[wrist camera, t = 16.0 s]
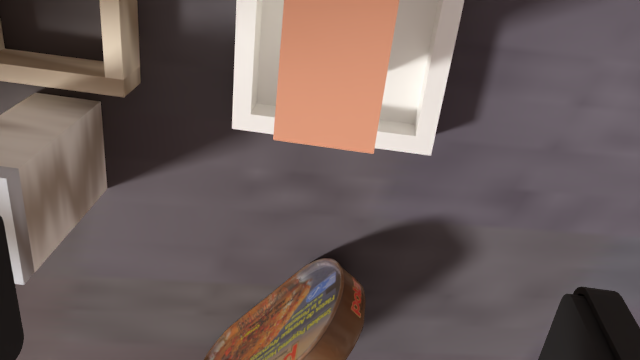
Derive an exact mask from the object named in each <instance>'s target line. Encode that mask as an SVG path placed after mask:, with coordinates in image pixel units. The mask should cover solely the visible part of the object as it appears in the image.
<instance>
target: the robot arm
mask: <svg viewBox="0 0 640 360" xmlns="http://www.w3.org/2000/svg"><path fill="white" fill-rule="evenodd" d="M23 340H24V333H23V328H22V322H21V317H20V311H19V305H18V300H17V294H16V288H15V283H14V277H13V271H12V266H11V260H10V254H9V249H8V243H7V238H6V232H5V226H4V222H3V219H2V217H1V216H0V360H16V358H17V357H18V355H19V353H20V351H21V349H22V345H23ZM538 360H640V328H639V326H638V324H637V323H636V321H635V319H634V317H633V316H632V314H631V312H630V311H629V309H628V307H627V305H626V304H625V302H624V300H623V298H622V297H621V296H620V294H619V293H617V292H615V291H609V290H602V289H595V288H587V287H578V288H577V289H576V290H575V291H574V293H573V294H565V295H564V296H563V297H562V299H561V302H560V304H559V307H558V309H557V312H556V315H555V317H554V320H553V322H552V325H551V328H550V330H549V333H548V335H547V338H546V341H545V343H544V346H543V348H542V351H541V354H540V356H539V359H538Z"/></svg>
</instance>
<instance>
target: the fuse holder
mask: <svg viewBox="0 0 640 360" xmlns="http://www.w3.org/2000/svg"><path fill="white" fill-rule="evenodd" d="M100 14H101V28H102V42H103V56H104V61H96V60H88V59H81V58H73V57H66V56H58V55H50V54H43V53H35V52H28V51H20V50H13V49H5V46H4V40H3V33H2V26H1V20H0V81H5V82H13V83H20V84H28V85H35V86H43V87H50V88H58V89H65V90H73V91H80V92H88V93H95V94H103V95H110V96H118V97H125V96H126V95H128V94H129V93H130V92H131V91H132V90H133V89H134V88H136V87H137V86H138V85H139V84H140V83H141V76H140V52H139V28H138V4H137V0H100ZM106 190H107V177H106V164H105V151H104V138H103V125H102V112H101V101H94V100H87V99H79V98H72V97H64V96H57V95H49V94H42V93H34V94H33V95H31V96H29V97H28V98H26V99H25V100H23V101H22V102H20V103H18V104H17V105H15V106H14V107H12V108H11V109H9V110H7V111H6V112H4V113H3V114H1V115H0V216H1V217H2V219H3V222H4V226H5V232H6V238H7V243H8V249H9V254H10V260H11V266H12V271H13V277H14V283H15V284H21V285H24V284H25V283H26V282H27V281H28V280H29V279H30V278H31V276H32V275H33V274H34V273H35V272H36V271H37V269H38V268H39V267H40V266H41V265H42V264H43V263H44V261H45V260H46V259H47V258H48V257H49V256H50V254H51V253H52V252H53V251H54V250H55V249H56V248H57V246H58V245H59V244H60V243H61V242H62V241H63V239H64V238H65V237H66V236H67V235H68V234H69V232H70V231H71V230H72V229H73V228H74V227H75V226H76V224H77V223H78V222H79V221H80V220H81V219H82V217H83V216H84V215H85V214H86V213H87V212H88V211H89V209H90V208H91V207H92V206H93V205H94V204H95V202H96V201H97V200H98V199H99V198H100V197H101V196H102V194H103V193H104V192H105V191H106Z"/></svg>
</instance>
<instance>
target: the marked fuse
mask: <svg viewBox="0 0 640 360" xmlns="http://www.w3.org/2000/svg"><path fill="white" fill-rule="evenodd" d="M398 6H399V0H284V7H283V20H282V32H281V45H280V58H279V71H278V84H277V97H276V109H275V122H274V135H273V140H278V141H285V142H292V143H299V144H306V145H314V146H321V147H328V148H335V149H343V150H350V151H357V152H364V153H372V154H374V148H375V142H376V136H377V130H378V124H379V118H380V112H381V106H382V100H383V95H384V89H385V83H386V77H387V71H388V65H389V59H390V53H391V47H392V41H393V35H394V29H395V24H396V18H397V12H398Z"/></svg>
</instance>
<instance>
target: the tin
mask: <svg viewBox="0 0 640 360" xmlns="http://www.w3.org/2000/svg"><path fill="white" fill-rule="evenodd" d="M364 314H365V293H364V289H363V287H362V285H361V284H360V283H359V282H358V281H357V280H356V279H355V278H354V277H353V276H352V275H351V274H349V273H348V272H347V271H346V270H344V269H343V268H342V267H341V265H340V264H339V263H338V262H337V261H336V260H334V259H331V258H322V259H319V260H316V261H313V262H311V263H310V264H308V265H306V266H305V267H303V268H302V269H301V270H299V271H298V272H297V273H295V274H294V275H293V276H292V277H291V278H289V279H288V280H287V281H286V282H284V283H283V284H282V285H281V286H280V287H278V288H277V289H276V290H275V291H273V292H272V293H271V294H270V295H268V296H267V297H266V298H265V299H264V300H262V301H261V302H260V303H259V304H257V305H256V306H255V307H253V308H252V309H251V310H250V311H249V312H247V313H246V314H245V315H244V316H242V317H241V318H240V319H239V320H237V321H236V322H235V323H234V324H233V325H231V326H230V327H229V328H228V329H227V330H226V331H225V332H224V333H223V334H222V336H221V337H220V338H219V339H218V340H217V341H216V343H215V344H214V345H213V347H212V348H211V349H210V351H209V352H208V353H207V355H206V357H205V359H204V360H346V359H347V357H348V356H349V354H350V353H351V351H352V349H353V348H354V346H355V344H356V342H357V340H358V338H359V336H360V333H361V331H362V328H363V324H364Z"/></svg>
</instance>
